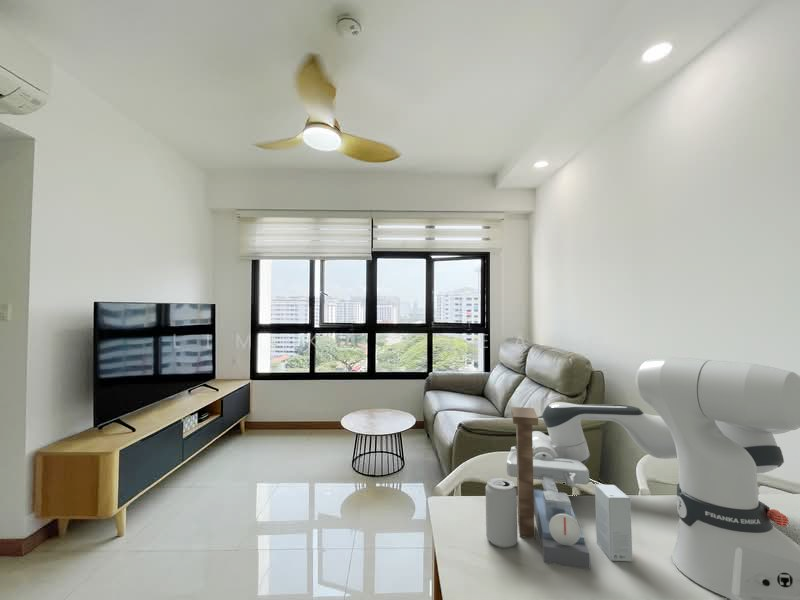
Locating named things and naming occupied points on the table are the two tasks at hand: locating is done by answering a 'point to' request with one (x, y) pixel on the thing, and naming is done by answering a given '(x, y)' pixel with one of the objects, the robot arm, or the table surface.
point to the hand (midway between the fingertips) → (549, 481)
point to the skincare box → (613, 522)
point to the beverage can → (501, 512)
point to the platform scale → (560, 537)
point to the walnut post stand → (525, 468)
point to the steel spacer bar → (554, 498)
